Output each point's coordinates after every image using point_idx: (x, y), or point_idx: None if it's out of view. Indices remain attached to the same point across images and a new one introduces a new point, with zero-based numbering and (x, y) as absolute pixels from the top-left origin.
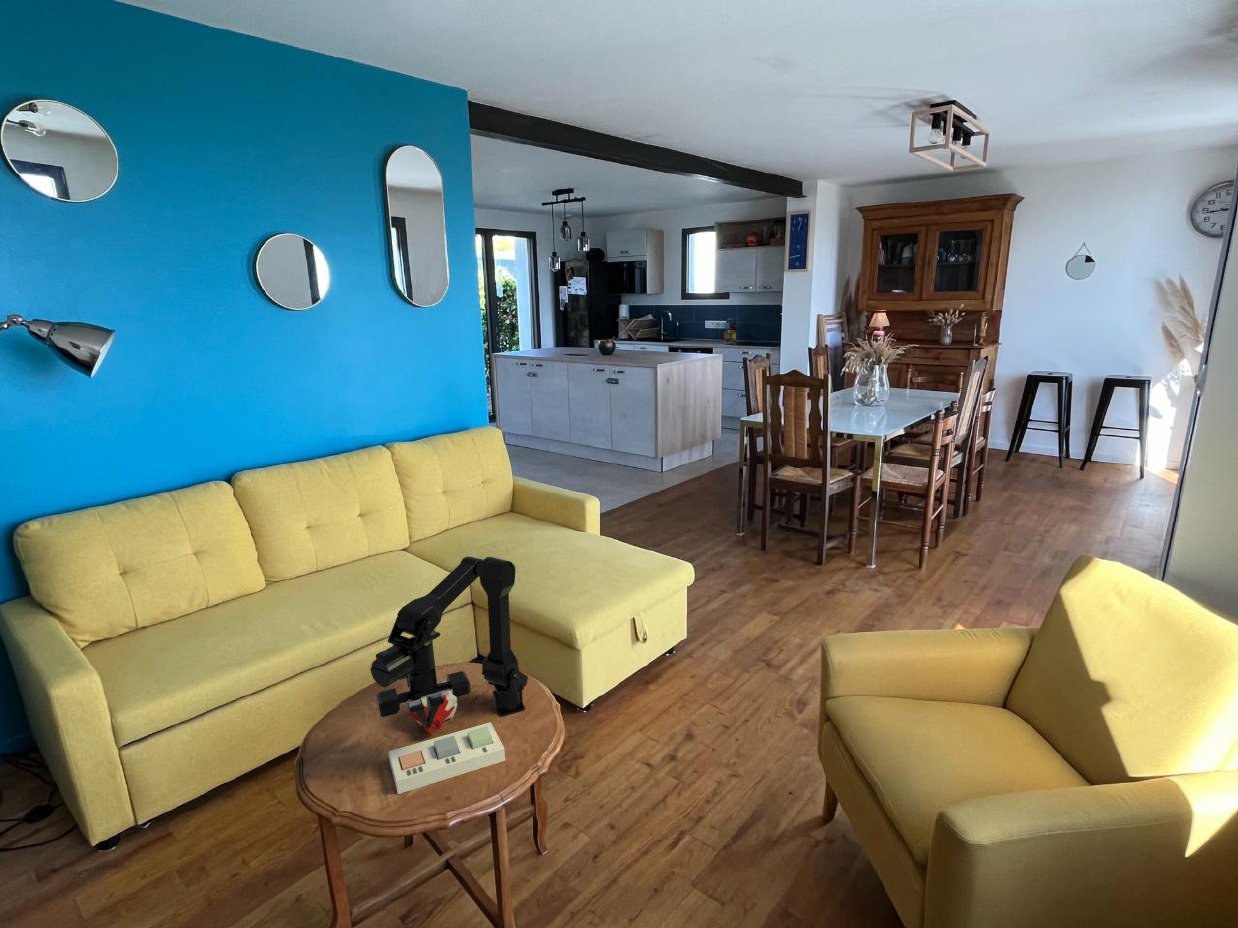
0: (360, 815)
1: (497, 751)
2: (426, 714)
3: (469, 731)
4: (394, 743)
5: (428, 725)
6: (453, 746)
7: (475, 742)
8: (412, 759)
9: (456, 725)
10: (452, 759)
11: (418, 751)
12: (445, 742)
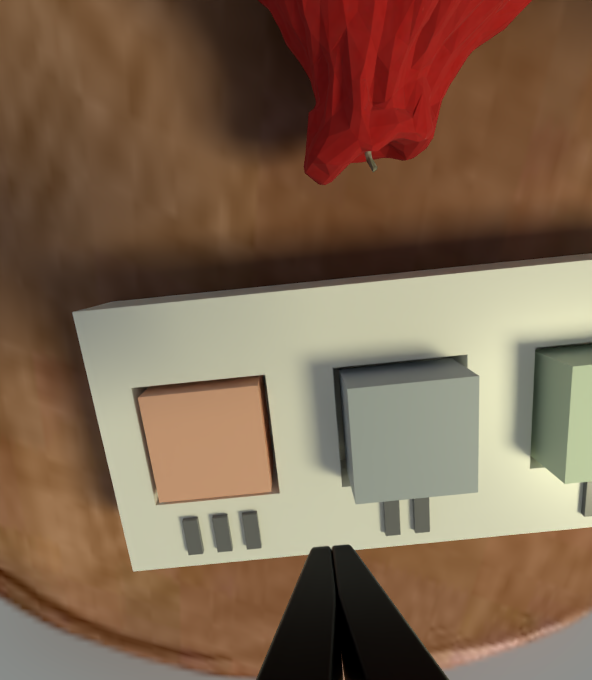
0: (21, 582)
1: None
2: (339, 34)
3: (584, 370)
4: (125, 123)
5: (340, 642)
6: (451, 480)
7: (577, 476)
8: (211, 450)
9: (493, 79)
10: (416, 516)
11: (247, 392)
12: (414, 427)
